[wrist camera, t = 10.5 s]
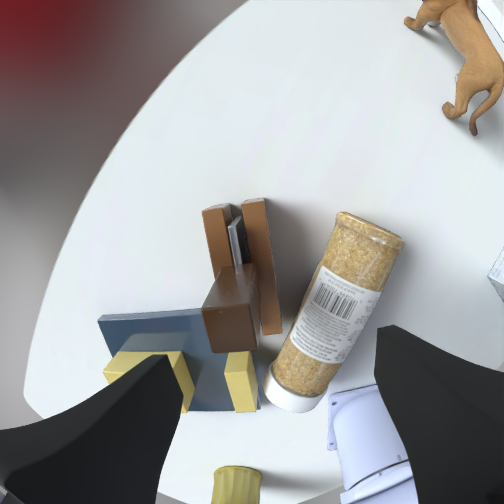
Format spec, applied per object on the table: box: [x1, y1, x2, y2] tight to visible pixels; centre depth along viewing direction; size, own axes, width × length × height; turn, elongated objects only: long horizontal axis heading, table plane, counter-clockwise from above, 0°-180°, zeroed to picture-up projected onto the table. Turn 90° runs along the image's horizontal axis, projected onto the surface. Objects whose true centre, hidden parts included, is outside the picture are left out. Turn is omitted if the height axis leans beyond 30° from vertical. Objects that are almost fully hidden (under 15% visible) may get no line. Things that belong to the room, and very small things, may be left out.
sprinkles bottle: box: [263, 212, 404, 413], centre depth 17 cm, size 5×5×13 cm
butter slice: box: [224, 351, 258, 413], centre depth 18 cm, size 4×2×3 cm, turn 9°
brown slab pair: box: [202, 198, 282, 335], centre depth 17 cm, size 8×3×3 cm, turn 9°
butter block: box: [103, 351, 195, 413], centre depth 19 cm, size 4×6×3 cm, turn 99°
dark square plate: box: [97, 308, 261, 411], centre depth 20 cm, size 10×12×1 cm
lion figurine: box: [404, 0, 504, 136], centre depth 9 cm, size 15×5×9 cm, turn 24°
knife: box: [201, 216, 261, 354], centre depth 14 cm, size 6×2×9 cm, turn 9°
